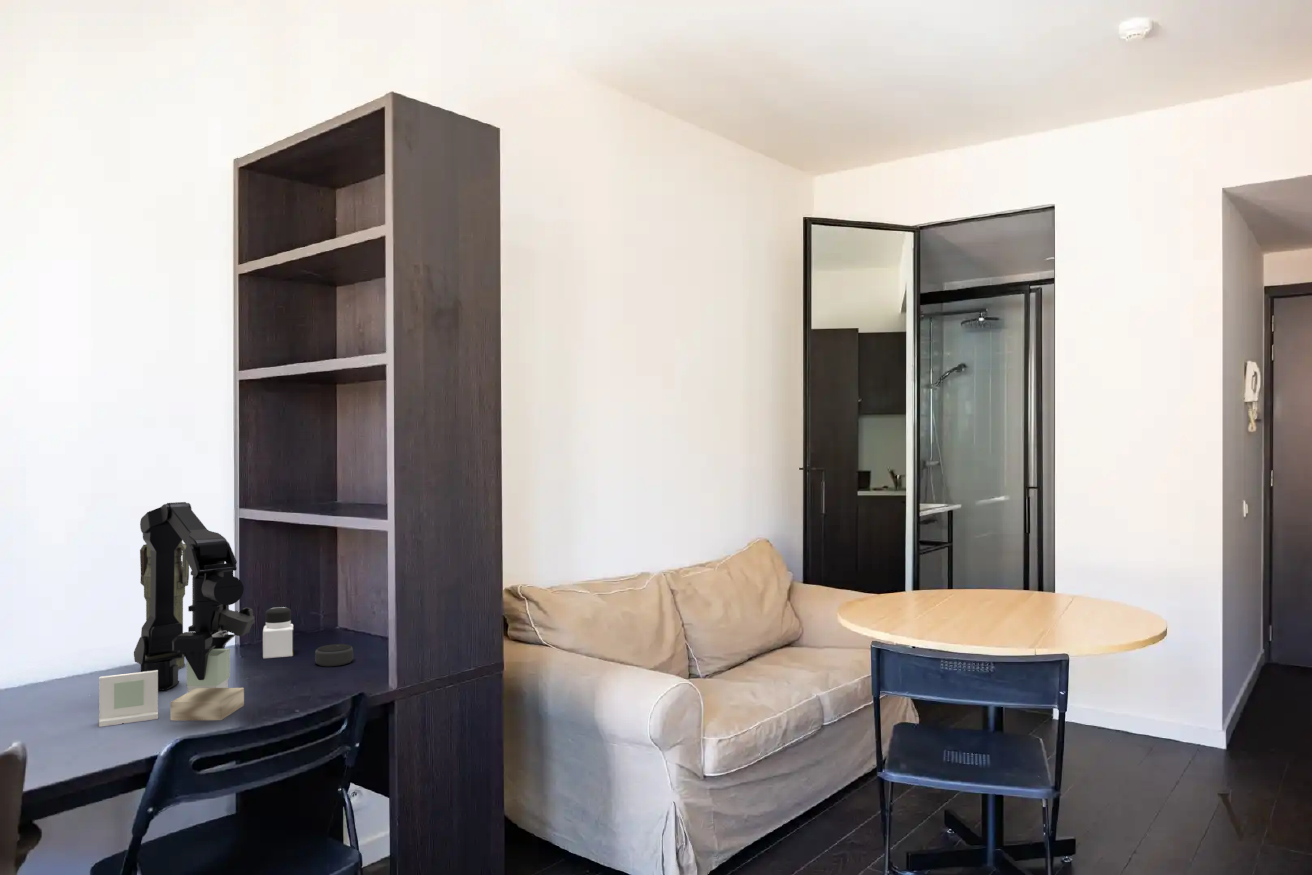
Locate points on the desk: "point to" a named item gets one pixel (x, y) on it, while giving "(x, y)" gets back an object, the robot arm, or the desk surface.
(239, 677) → the desk surface
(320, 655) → the smart speaker
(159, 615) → the robot arm
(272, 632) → the medicine bottle
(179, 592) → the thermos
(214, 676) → the sage cube
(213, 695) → the birch block
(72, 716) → the desk surface
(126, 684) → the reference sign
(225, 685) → the grey cube
